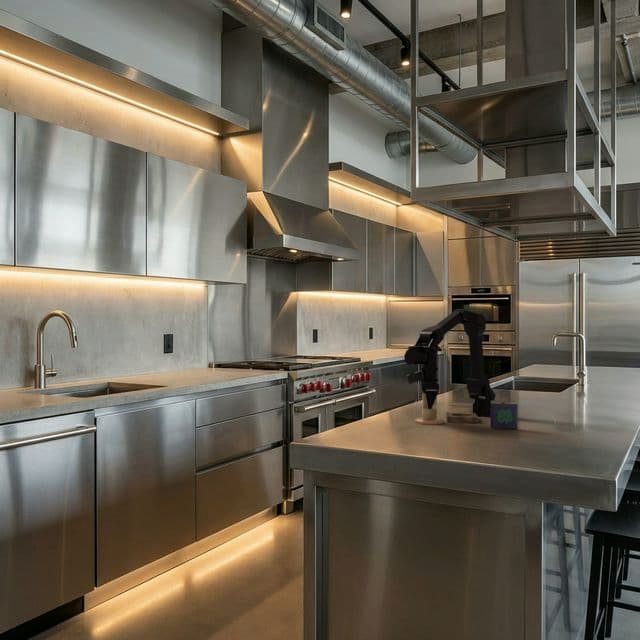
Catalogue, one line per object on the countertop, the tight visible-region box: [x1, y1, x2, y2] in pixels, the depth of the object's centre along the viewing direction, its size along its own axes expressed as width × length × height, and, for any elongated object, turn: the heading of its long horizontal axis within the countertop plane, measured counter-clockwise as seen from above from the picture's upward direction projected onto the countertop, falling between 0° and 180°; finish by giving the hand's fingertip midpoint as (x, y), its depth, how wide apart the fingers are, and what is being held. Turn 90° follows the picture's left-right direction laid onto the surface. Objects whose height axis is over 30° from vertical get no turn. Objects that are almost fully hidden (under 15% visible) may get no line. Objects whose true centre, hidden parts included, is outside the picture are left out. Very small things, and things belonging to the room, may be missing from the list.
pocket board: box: [445, 411, 479, 424], centre depth 231 cm, size 11×11×2 cm
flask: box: [489, 397, 519, 431], centre depth 213 cm, size 9×3×11 cm, turn 88°
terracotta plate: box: [414, 417, 444, 426], centre depth 225 cm, size 10×10×1 cm
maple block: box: [421, 393, 438, 421], centre depth 226 cm, size 5×4×9 cm
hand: (429, 407), depth 225 cm, fingers open, 9 cm apart
